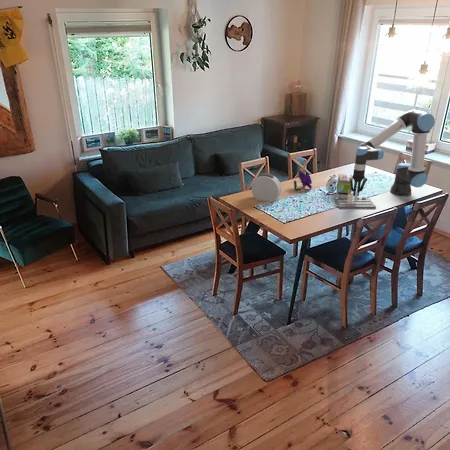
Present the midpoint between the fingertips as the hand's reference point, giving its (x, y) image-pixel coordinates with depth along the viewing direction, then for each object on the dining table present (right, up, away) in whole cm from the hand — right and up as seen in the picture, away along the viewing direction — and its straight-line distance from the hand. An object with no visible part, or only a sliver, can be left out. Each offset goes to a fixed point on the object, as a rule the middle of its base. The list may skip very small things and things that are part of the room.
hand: (355, 200), depth 306 cm
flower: (-34, +10, +30) cm, 46 cm away
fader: (-4, -2, +1) cm, 4 cm away
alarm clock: (-64, +1, +12) cm, 65 cm away
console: (0, -3, +2) cm, 4 cm away
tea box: (-4, +4, +18) cm, 19 cm away
